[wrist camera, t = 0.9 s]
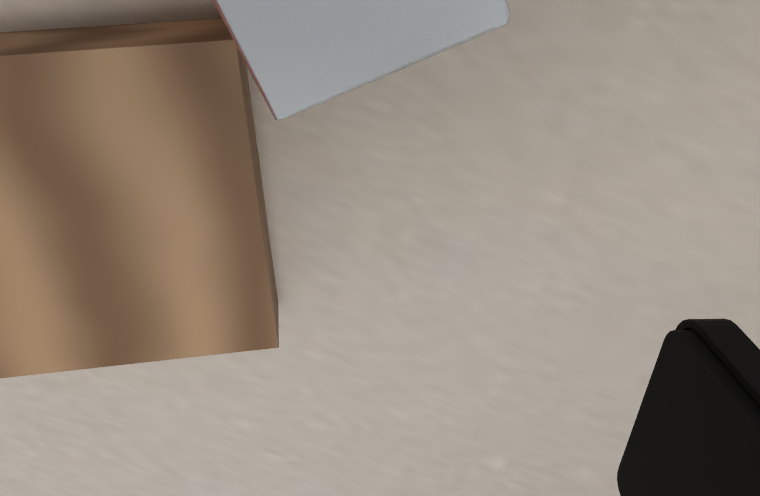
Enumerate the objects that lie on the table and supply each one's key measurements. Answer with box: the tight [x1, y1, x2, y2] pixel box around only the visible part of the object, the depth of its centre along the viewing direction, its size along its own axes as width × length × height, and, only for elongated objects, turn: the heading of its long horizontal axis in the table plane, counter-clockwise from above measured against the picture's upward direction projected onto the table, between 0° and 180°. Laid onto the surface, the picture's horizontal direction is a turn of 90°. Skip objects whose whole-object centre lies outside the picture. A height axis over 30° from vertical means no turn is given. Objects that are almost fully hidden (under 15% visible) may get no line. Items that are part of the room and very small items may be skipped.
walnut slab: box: [0, 18, 279, 378], centre depth 30 cm, size 14×14×4 cm
